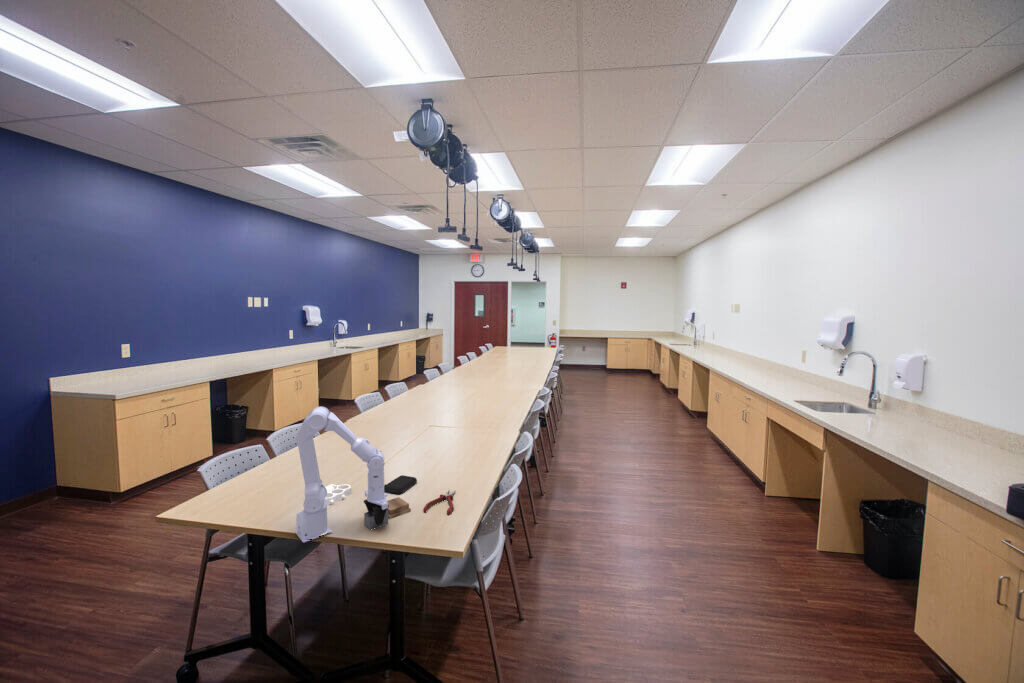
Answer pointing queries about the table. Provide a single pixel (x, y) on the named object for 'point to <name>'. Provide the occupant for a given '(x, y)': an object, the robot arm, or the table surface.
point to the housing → (373, 520)
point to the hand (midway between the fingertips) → (376, 521)
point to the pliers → (440, 499)
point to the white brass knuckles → (336, 493)
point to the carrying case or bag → (400, 484)
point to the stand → (397, 507)
